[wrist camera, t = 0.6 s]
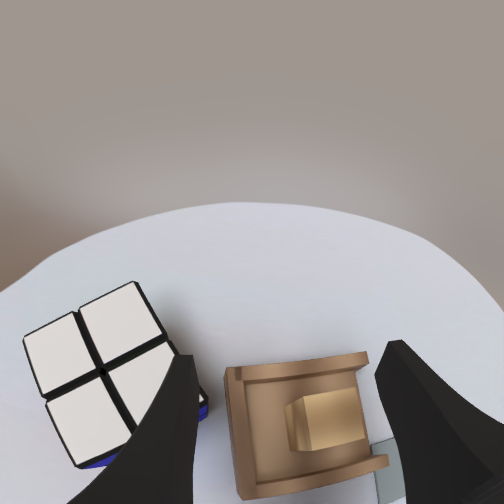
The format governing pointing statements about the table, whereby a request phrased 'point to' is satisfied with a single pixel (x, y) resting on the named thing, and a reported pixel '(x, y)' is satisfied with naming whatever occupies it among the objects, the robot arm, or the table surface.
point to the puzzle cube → (101, 372)
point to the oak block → (323, 420)
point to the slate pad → (389, 473)
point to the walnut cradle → (274, 427)
